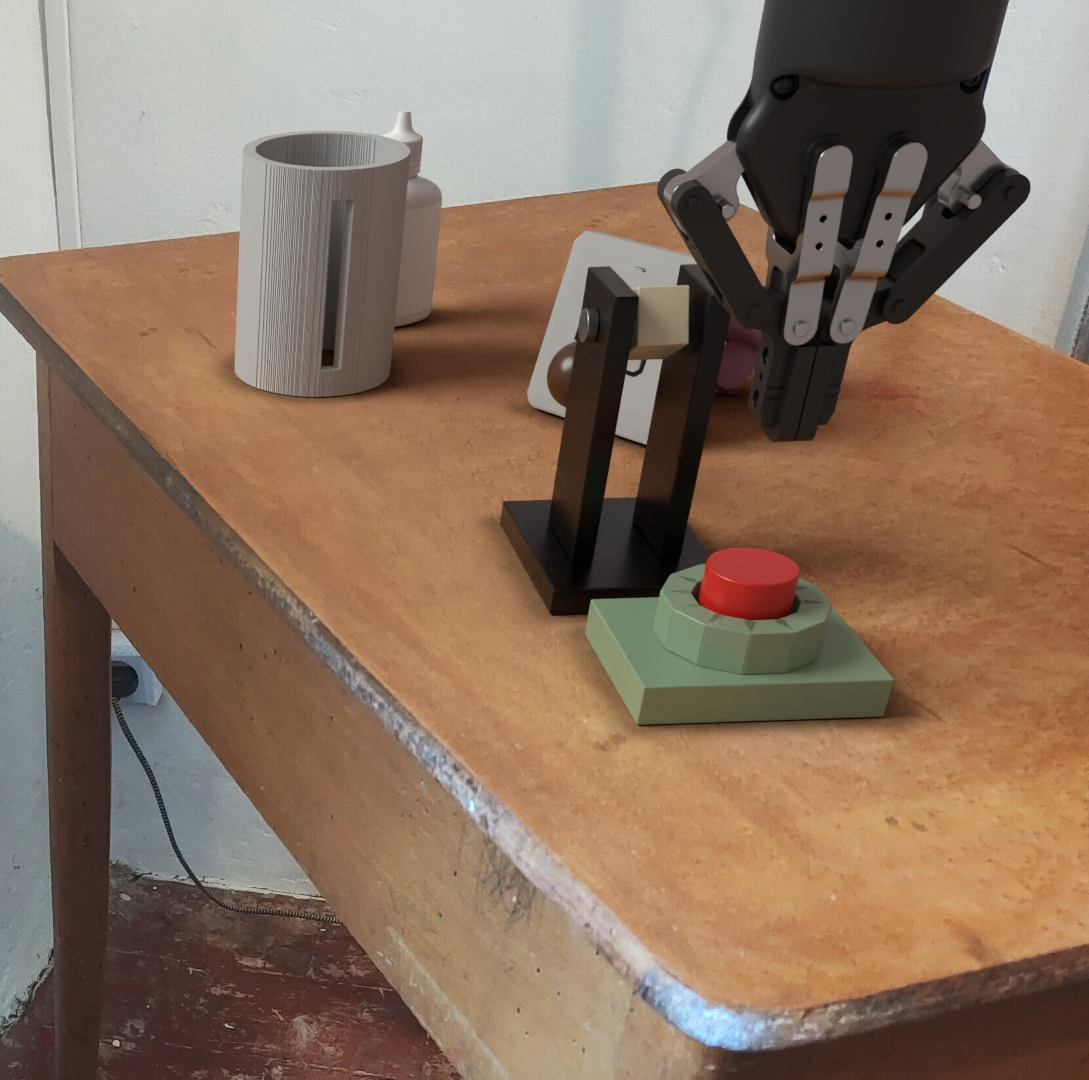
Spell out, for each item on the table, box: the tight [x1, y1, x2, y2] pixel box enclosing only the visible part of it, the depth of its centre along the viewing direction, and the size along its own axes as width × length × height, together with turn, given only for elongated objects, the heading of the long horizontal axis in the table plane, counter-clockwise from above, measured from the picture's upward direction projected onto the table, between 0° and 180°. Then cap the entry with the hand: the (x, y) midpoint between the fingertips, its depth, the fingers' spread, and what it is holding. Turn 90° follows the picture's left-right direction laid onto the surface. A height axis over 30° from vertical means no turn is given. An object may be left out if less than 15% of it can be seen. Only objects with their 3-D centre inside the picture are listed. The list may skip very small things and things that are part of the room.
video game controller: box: [715, 316, 761, 393], centre depth 98 cm, size 10×5×7 cm, turn 79°
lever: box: [547, 285, 690, 408], centre depth 80 cm, size 13×3×3 cm
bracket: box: [499, 264, 731, 615], centre depth 78 cm, size 10×8×13 cm
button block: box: [584, 564, 895, 726], centre depth 72 cm, size 10×8×4 cm
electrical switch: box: [526, 230, 732, 446], centre depth 94 cm, size 9×5×9 cm, turn 39°
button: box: [699, 547, 801, 620], centre depth 70 cm, size 4×4×2 cm
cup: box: [234, 130, 411, 398], centre depth 99 cm, size 9×9×12 cm
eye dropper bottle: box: [382, 109, 443, 328], centre depth 107 cm, size 4×6×12 cm
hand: (785, 434), depth 67 cm, fingers closed
